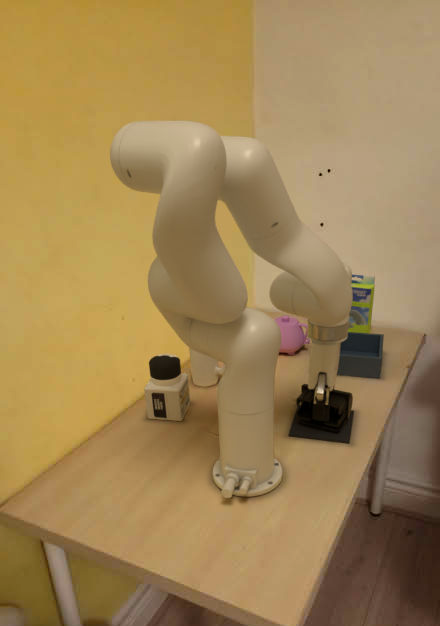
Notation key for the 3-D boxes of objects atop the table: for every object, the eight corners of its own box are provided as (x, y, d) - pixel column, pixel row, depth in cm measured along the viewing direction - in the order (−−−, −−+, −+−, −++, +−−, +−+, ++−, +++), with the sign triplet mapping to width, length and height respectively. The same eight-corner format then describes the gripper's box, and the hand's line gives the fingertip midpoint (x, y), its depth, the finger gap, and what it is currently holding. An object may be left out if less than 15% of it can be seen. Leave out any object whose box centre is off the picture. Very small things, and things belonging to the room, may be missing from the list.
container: (182, 421, 114) (177, 367, 108) (147, 419, 116) (140, 365, 110) (190, 403, 121) (186, 351, 115) (158, 401, 123) (152, 349, 116)
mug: (186, 384, 129) (182, 337, 124) (200, 372, 134) (197, 327, 129) (222, 392, 125) (220, 345, 119) (236, 380, 130) (234, 334, 124)
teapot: (305, 360, 138) (307, 326, 134) (249, 354, 143) (248, 321, 138) (312, 343, 147) (314, 311, 142) (259, 338, 151) (259, 307, 147)
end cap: (351, 416, 111) (354, 387, 108) (341, 433, 106) (343, 404, 103) (305, 406, 116) (306, 378, 113) (293, 422, 110) (294, 393, 107)
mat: (349, 443, 105) (349, 441, 105) (288, 436, 108) (288, 434, 108) (354, 412, 115) (354, 410, 115) (297, 406, 118) (297, 404, 118)
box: (328, 337, 150) (332, 276, 141) (333, 332, 153) (336, 272, 145) (367, 343, 146) (373, 280, 137) (370, 337, 149) (376, 276, 140)
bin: (379, 378, 127) (382, 358, 125) (313, 372, 132) (314, 353, 129) (381, 353, 140) (383, 334, 137) (321, 348, 144) (321, 330, 141)
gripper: (313, 311, 109) (310, 386, 118) (300, 346, 95) (298, 429, 103) (351, 313, 107) (345, 390, 116) (343, 349, 93) (337, 434, 101)
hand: (323, 408), depth 110 cm, fingers closed on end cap, 8 cm apart
